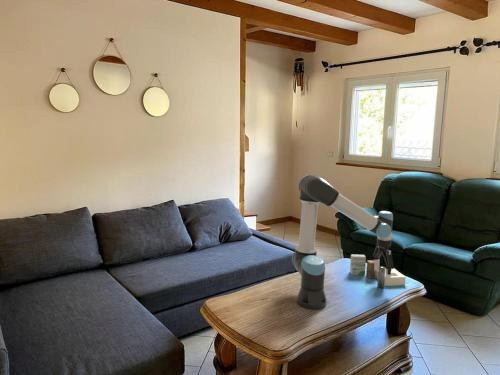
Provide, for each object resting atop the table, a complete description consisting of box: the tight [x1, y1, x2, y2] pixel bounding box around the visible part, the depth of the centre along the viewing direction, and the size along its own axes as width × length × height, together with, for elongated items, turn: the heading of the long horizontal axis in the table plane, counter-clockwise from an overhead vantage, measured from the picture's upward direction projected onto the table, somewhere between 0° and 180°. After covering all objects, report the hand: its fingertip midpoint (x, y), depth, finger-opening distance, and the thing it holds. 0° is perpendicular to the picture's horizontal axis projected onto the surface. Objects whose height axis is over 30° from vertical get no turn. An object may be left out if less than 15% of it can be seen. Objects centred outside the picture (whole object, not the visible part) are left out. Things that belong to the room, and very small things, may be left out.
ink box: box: [349, 254, 367, 276], centre depth 227 cm, size 9×5×12 cm, turn 84°
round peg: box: [376, 265, 386, 290], centre depth 207 cm, size 4×4×12 cm
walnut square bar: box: [365, 259, 376, 279], centre depth 222 cm, size 4×4×10 cm
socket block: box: [375, 267, 406, 287], centre depth 218 cm, size 12×14×5 cm
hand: (382, 274), depth 207 cm, fingers open, 13 cm apart
